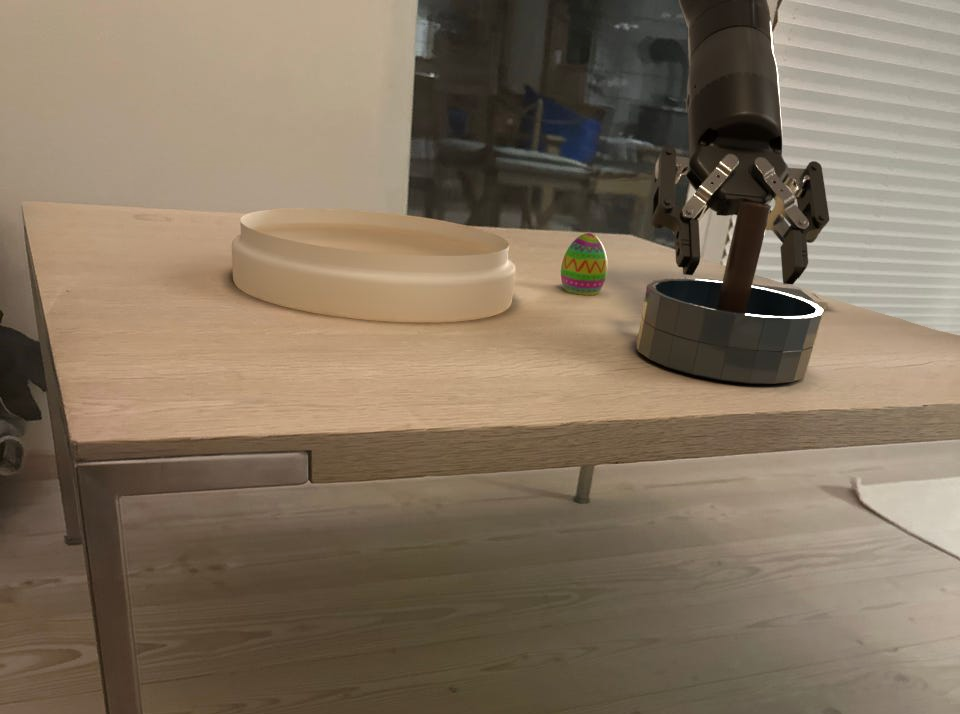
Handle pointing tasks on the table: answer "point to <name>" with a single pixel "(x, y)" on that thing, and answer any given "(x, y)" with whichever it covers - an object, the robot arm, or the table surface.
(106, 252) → the table surface
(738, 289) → the muddler
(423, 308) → the cream round tray
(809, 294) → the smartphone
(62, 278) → the table surface
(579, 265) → the egg
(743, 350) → the bowl
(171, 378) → the table surface
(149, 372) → the table surface
